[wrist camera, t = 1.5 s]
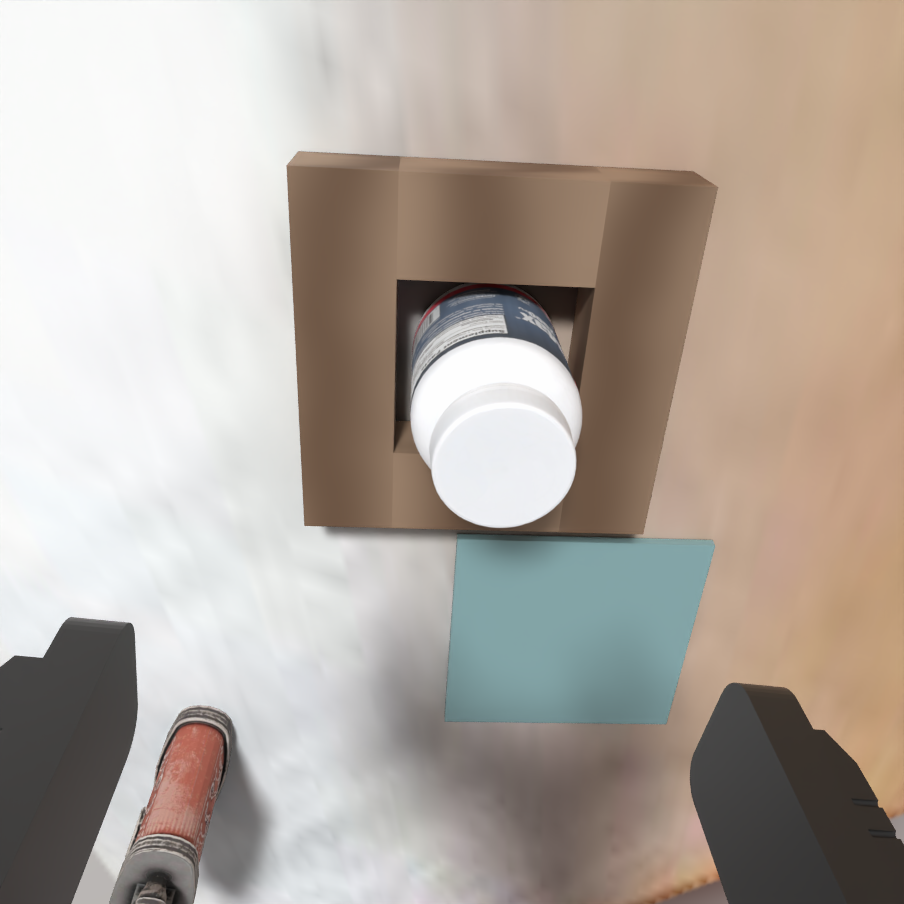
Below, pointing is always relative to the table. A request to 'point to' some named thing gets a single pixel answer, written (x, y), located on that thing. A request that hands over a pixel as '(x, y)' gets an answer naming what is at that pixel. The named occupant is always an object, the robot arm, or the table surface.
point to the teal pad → (571, 627)
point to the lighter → (177, 811)
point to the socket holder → (500, 262)
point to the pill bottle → (494, 405)
